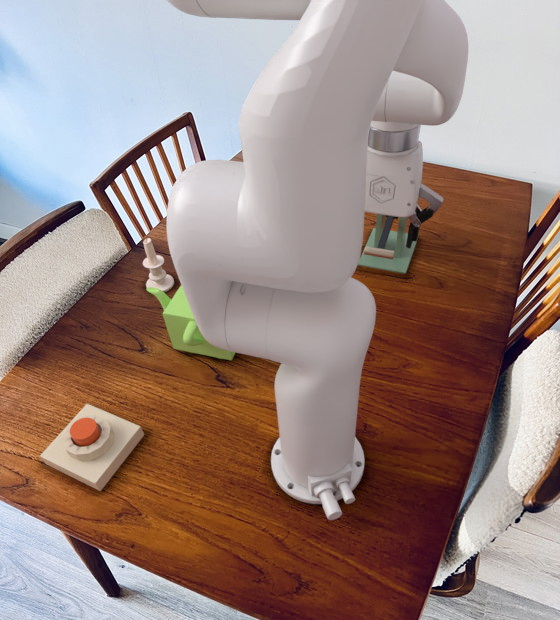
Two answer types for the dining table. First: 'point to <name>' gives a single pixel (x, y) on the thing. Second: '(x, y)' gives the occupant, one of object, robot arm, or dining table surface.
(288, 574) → the dining table surface
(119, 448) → the beige square piece
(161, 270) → the candle
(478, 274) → the dining table surface
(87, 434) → the red short cylinder
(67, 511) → the dining table surface
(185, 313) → the teapot
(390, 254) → the switch lever
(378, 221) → the stand
